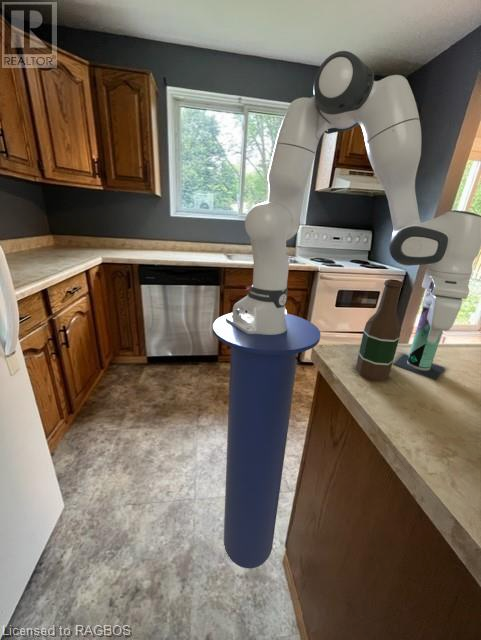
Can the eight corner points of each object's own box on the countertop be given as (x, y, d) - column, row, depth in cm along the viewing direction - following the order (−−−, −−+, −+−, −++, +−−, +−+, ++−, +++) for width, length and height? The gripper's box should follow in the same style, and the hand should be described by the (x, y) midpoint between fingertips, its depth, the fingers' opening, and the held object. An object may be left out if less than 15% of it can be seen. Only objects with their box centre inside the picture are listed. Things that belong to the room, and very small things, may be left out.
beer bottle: (370, 383, 64) (395, 284, 56) (348, 367, 71) (367, 277, 63) (395, 379, 67) (423, 283, 59) (372, 364, 74) (393, 276, 65)
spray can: (422, 361, 76) (444, 292, 69) (434, 371, 71) (459, 297, 64) (402, 359, 76) (422, 290, 69) (413, 370, 71) (436, 296, 64)
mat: (393, 364, 74) (393, 363, 74) (403, 354, 80) (403, 354, 80) (436, 379, 67) (436, 379, 67) (444, 368, 73) (444, 367, 73)
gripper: (424, 274, 76) (411, 321, 81) (435, 288, 59) (418, 346, 63) (451, 277, 73) (436, 325, 78) (471, 293, 56) (450, 353, 61)
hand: (428, 335), depth 71 cm, fingers open, 8 cm apart
